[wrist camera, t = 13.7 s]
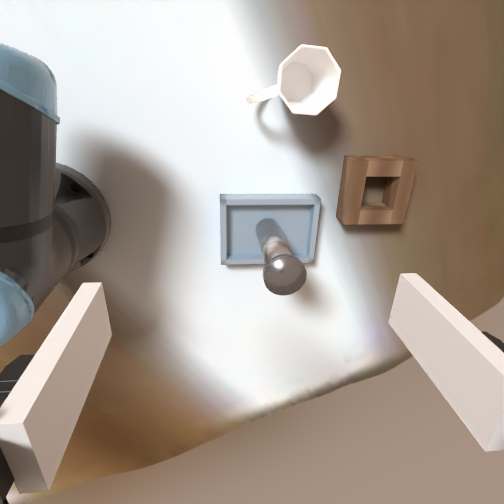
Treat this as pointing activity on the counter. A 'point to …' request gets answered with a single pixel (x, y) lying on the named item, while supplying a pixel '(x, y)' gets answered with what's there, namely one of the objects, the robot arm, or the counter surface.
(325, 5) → the counter surface
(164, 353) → the counter surface
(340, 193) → the socket block
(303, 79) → the cup
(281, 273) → the pin
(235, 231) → the tray
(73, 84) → the counter surface
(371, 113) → the counter surface
